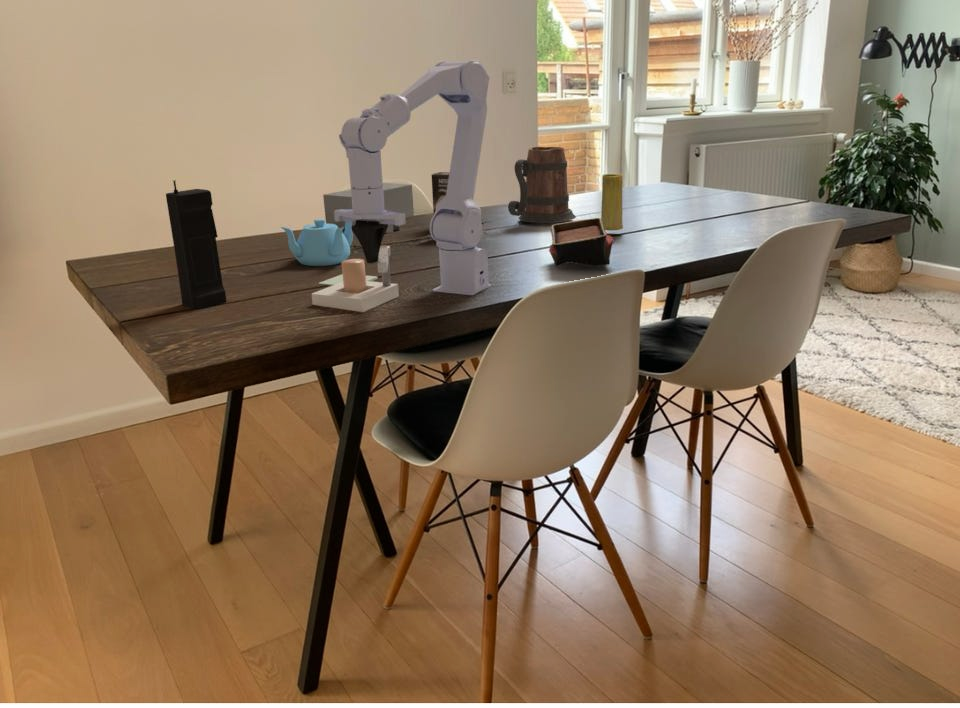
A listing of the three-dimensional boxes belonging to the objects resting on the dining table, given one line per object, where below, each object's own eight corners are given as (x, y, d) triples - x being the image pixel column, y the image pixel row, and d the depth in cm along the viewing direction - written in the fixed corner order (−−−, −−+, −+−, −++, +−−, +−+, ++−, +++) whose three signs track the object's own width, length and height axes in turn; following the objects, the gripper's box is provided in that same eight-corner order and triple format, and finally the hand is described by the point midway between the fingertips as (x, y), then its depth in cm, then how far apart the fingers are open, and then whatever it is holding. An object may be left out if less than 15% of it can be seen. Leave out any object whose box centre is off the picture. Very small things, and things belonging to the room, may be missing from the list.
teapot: (304, 256, 203) (299, 214, 199) (363, 254, 201) (359, 213, 198) (284, 269, 189) (279, 225, 186) (348, 268, 187) (343, 224, 184)
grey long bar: (378, 255, 160) (377, 245, 159) (390, 254, 160) (390, 245, 159) (375, 273, 146) (375, 263, 145) (389, 272, 146) (388, 262, 145)
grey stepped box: (387, 240, 218) (384, 199, 214) (327, 233, 231) (323, 194, 227) (446, 224, 236) (444, 186, 233) (387, 218, 250) (384, 182, 246)
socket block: (398, 296, 162) (396, 256, 160) (363, 312, 152) (359, 270, 150) (350, 290, 168) (346, 252, 165) (312, 306, 158) (308, 265, 155)
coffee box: (433, 234, 222) (430, 174, 216) (441, 230, 227) (438, 171, 222) (465, 235, 219) (462, 174, 213) (472, 230, 225) (470, 171, 219)
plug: (372, 299, 161) (368, 259, 158) (358, 305, 157) (355, 264, 155) (354, 297, 163) (350, 258, 160) (340, 303, 159) (336, 263, 157)
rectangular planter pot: (547, 281, 181) (546, 239, 175) (551, 246, 196) (550, 207, 190) (613, 280, 179) (614, 238, 173) (612, 246, 194) (613, 206, 188)
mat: (377, 278, 177) (377, 276, 176) (352, 289, 169) (352, 286, 169) (344, 275, 181) (344, 273, 181) (318, 285, 173) (318, 282, 173)
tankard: (545, 210, 251) (544, 144, 245) (587, 216, 240) (588, 146, 233) (490, 222, 236) (487, 151, 230) (532, 228, 225) (531, 154, 218)
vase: (599, 230, 218) (599, 176, 213) (601, 226, 223) (601, 173, 219) (622, 230, 216) (623, 176, 212) (623, 226, 222) (624, 173, 217)
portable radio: (215, 300, 165) (196, 174, 157) (233, 304, 162) (214, 176, 153) (180, 309, 160) (159, 180, 151) (198, 314, 156) (176, 181, 148)
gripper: (320, 188, 145) (327, 263, 150) (387, 191, 138) (392, 270, 143) (345, 183, 151) (351, 255, 155) (410, 186, 144) (414, 261, 149)
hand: (372, 262), depth 150 cm, fingers closed
